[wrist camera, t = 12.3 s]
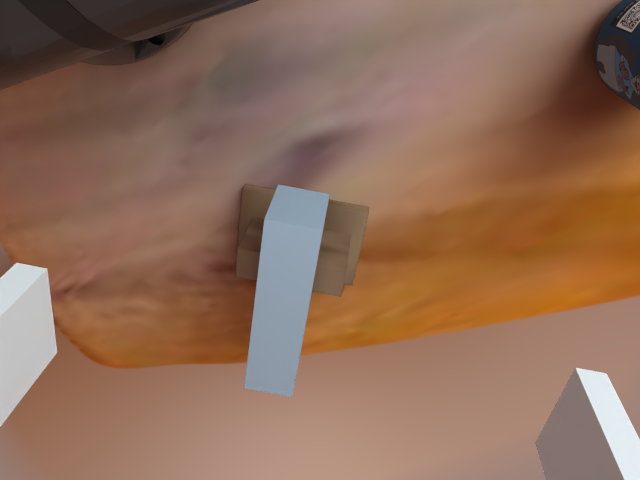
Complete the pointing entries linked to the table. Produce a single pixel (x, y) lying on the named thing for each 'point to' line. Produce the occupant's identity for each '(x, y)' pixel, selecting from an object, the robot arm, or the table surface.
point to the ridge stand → (335, 248)
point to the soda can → (620, 51)
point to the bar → (284, 287)
